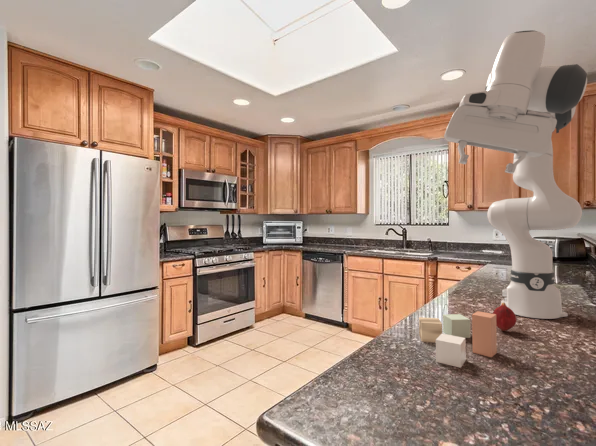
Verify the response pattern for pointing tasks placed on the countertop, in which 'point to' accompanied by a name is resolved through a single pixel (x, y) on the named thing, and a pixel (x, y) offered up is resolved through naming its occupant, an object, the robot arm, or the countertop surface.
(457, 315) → the sage block
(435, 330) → the maple block
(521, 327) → the countertop surface
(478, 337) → the terracotta post
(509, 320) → the onion
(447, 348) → the ceramic block
